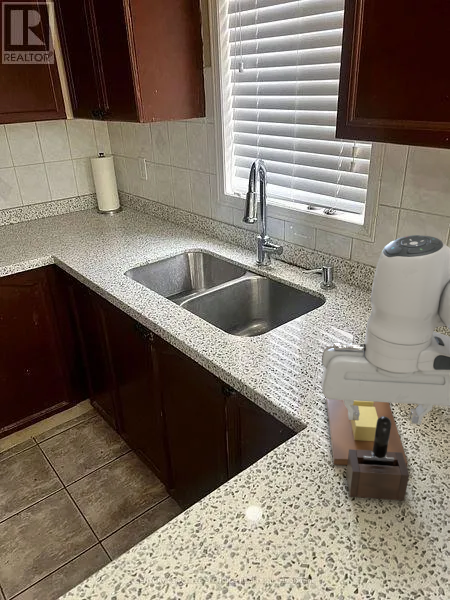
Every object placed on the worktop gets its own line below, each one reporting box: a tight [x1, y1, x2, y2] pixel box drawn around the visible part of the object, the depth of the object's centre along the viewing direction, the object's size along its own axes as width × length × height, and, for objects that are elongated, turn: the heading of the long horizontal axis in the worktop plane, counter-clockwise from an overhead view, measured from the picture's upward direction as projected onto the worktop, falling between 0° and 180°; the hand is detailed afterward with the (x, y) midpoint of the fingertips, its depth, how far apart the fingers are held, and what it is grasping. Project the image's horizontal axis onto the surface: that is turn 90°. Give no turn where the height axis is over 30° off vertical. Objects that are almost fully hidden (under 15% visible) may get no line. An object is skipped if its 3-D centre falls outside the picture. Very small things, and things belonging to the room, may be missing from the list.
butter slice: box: [353, 400, 374, 407], centre depth 93 cm, size 4×2×4 cm, turn 83°
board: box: [325, 397, 409, 467], centre depth 90 cm, size 13×18×2 cm
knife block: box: [345, 449, 410, 502], centre depth 77 cm, size 9×5×6 cm, turn 83°
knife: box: [362, 416, 394, 466], centre depth 75 cm, size 5×2×16 cm, turn 83°
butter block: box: [351, 406, 378, 441], centre depth 88 cm, size 4×6×4 cm
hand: (383, 419), depth 71 cm, fingers open, 8 cm apart
